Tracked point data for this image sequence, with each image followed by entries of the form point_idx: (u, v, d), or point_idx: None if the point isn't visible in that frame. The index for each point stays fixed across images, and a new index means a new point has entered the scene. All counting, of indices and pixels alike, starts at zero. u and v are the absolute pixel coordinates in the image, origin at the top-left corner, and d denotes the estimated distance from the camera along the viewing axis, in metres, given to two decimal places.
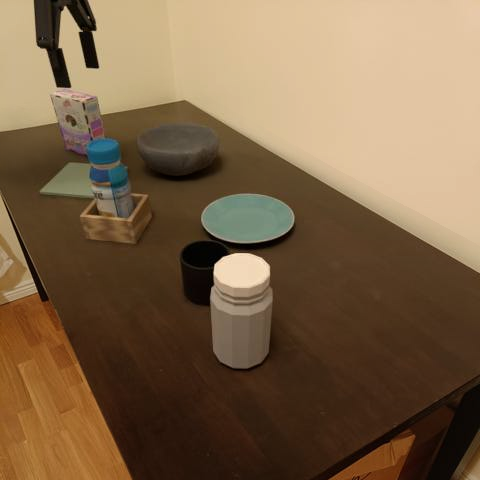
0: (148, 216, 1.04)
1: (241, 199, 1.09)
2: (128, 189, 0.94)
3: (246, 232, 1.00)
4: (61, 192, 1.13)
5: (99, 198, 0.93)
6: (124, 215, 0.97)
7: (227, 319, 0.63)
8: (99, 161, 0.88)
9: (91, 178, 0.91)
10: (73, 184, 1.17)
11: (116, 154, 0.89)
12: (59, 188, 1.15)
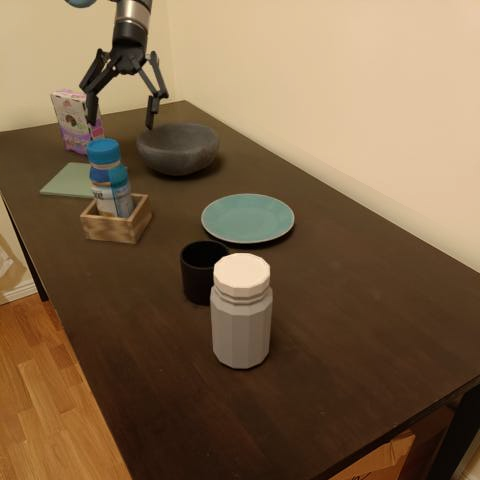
0: (148, 216, 1.04)
1: (241, 199, 1.09)
2: (128, 189, 0.94)
3: (246, 232, 1.00)
4: (61, 192, 1.13)
5: (99, 198, 0.93)
6: (124, 215, 0.97)
7: (227, 319, 0.63)
8: (99, 161, 0.88)
9: (91, 178, 0.91)
10: (73, 184, 1.17)
11: (116, 154, 0.89)
12: (59, 188, 1.15)
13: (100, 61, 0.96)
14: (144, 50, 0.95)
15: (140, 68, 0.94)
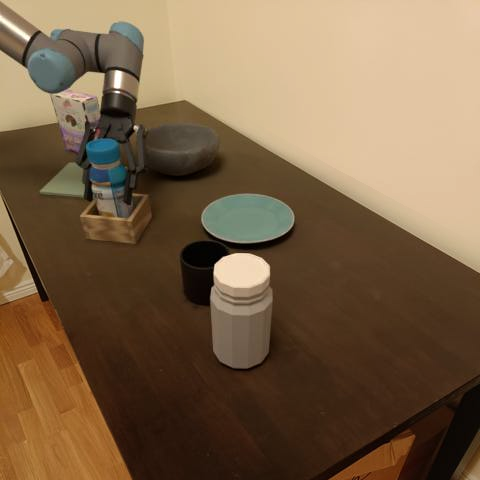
0: (148, 216, 1.04)
1: (241, 199, 1.09)
2: None
3: (246, 232, 0.99)
4: (61, 192, 1.13)
5: (99, 198, 0.93)
6: (124, 215, 0.97)
7: (227, 319, 0.63)
8: (99, 161, 0.88)
9: (91, 178, 0.91)
10: (73, 184, 1.17)
11: (116, 154, 0.89)
12: (59, 188, 1.15)
13: (90, 133, 0.94)
14: (133, 119, 0.94)
15: (125, 141, 0.92)
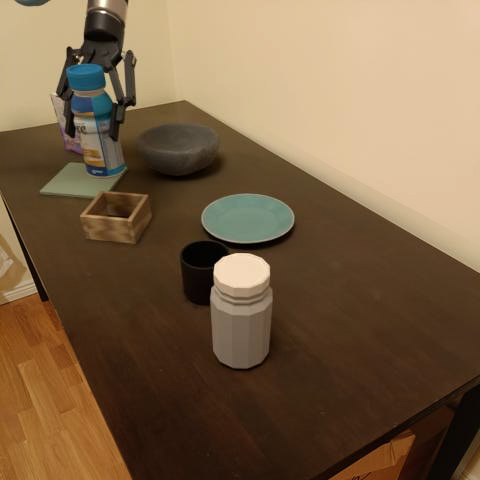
0: (148, 216, 1.04)
1: (241, 199, 1.09)
2: None
3: (246, 232, 1.00)
4: (61, 192, 1.13)
5: (82, 132, 0.84)
6: (110, 154, 0.87)
7: (227, 319, 0.63)
8: (81, 86, 0.78)
9: (73, 108, 0.82)
10: (73, 184, 1.17)
11: (100, 80, 0.79)
12: (59, 188, 1.15)
13: (72, 60, 0.84)
14: (120, 45, 0.84)
15: (111, 68, 0.83)
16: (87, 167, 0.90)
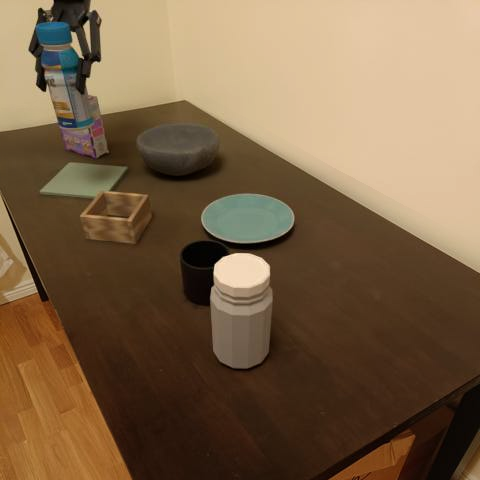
0: (148, 216, 1.04)
1: (241, 199, 1.09)
2: None
3: (246, 232, 1.00)
4: (61, 192, 1.13)
5: (51, 85, 0.93)
6: (79, 107, 0.96)
7: (227, 319, 0.63)
8: (49, 41, 0.87)
9: (42, 62, 0.90)
10: (73, 184, 1.17)
11: (66, 35, 0.88)
12: (59, 188, 1.15)
13: (43, 20, 0.93)
14: (86, 6, 0.93)
15: (77, 26, 0.92)
16: (58, 120, 0.98)
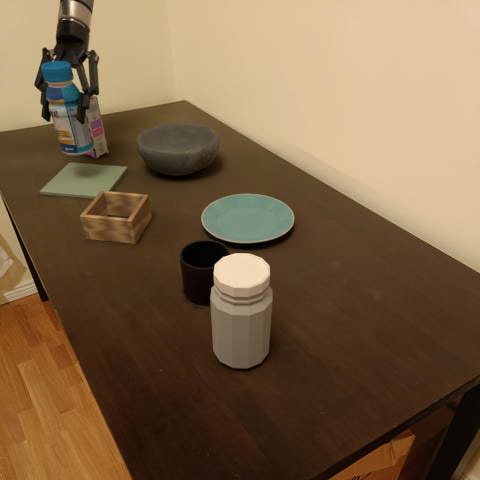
0: (148, 216, 1.04)
1: (241, 199, 1.09)
2: None
3: (246, 232, 1.00)
4: (61, 192, 1.13)
5: (55, 116, 1.04)
6: (79, 134, 1.08)
7: (227, 319, 0.63)
8: (53, 79, 0.99)
9: (47, 97, 1.02)
10: (73, 184, 1.17)
11: (68, 73, 0.99)
12: (59, 188, 1.15)
13: (47, 59, 1.05)
14: (85, 46, 1.04)
15: (78, 64, 1.03)
16: (61, 145, 1.10)
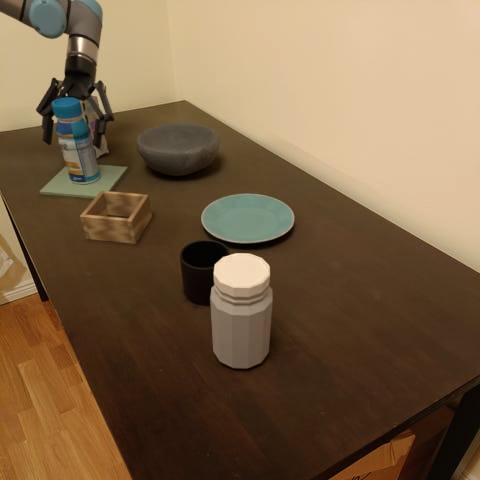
0: (148, 216, 1.04)
1: (241, 199, 1.09)
2: (89, 142, 1.11)
3: (246, 232, 1.00)
4: (61, 192, 1.13)
5: (64, 149, 1.10)
6: (87, 165, 1.13)
7: (227, 319, 0.63)
8: (63, 115, 1.04)
9: (57, 131, 1.08)
10: (73, 184, 1.17)
11: (77, 110, 1.05)
12: (59, 188, 1.15)
13: (54, 88, 1.10)
14: (92, 79, 1.09)
15: (88, 95, 1.08)
16: (69, 175, 1.16)
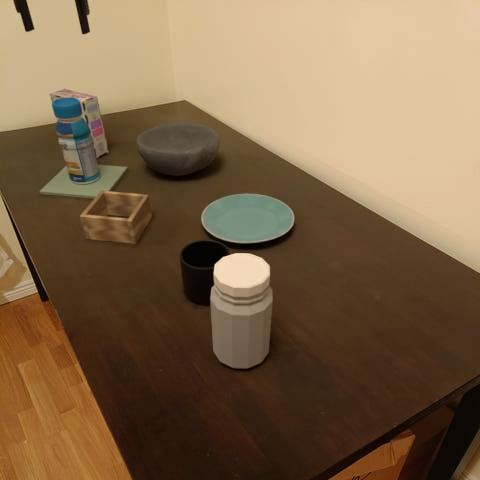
0: (148, 216, 1.04)
1: (241, 199, 1.09)
2: (89, 142, 1.11)
3: (246, 232, 1.00)
4: (61, 192, 1.13)
5: (64, 149, 1.10)
6: (87, 165, 1.13)
7: (227, 319, 0.63)
8: (63, 115, 1.04)
9: (57, 131, 1.08)
10: (73, 184, 1.17)
11: (77, 110, 1.05)
12: (59, 188, 1.15)
13: None
14: None
15: None
16: (69, 175, 1.16)
